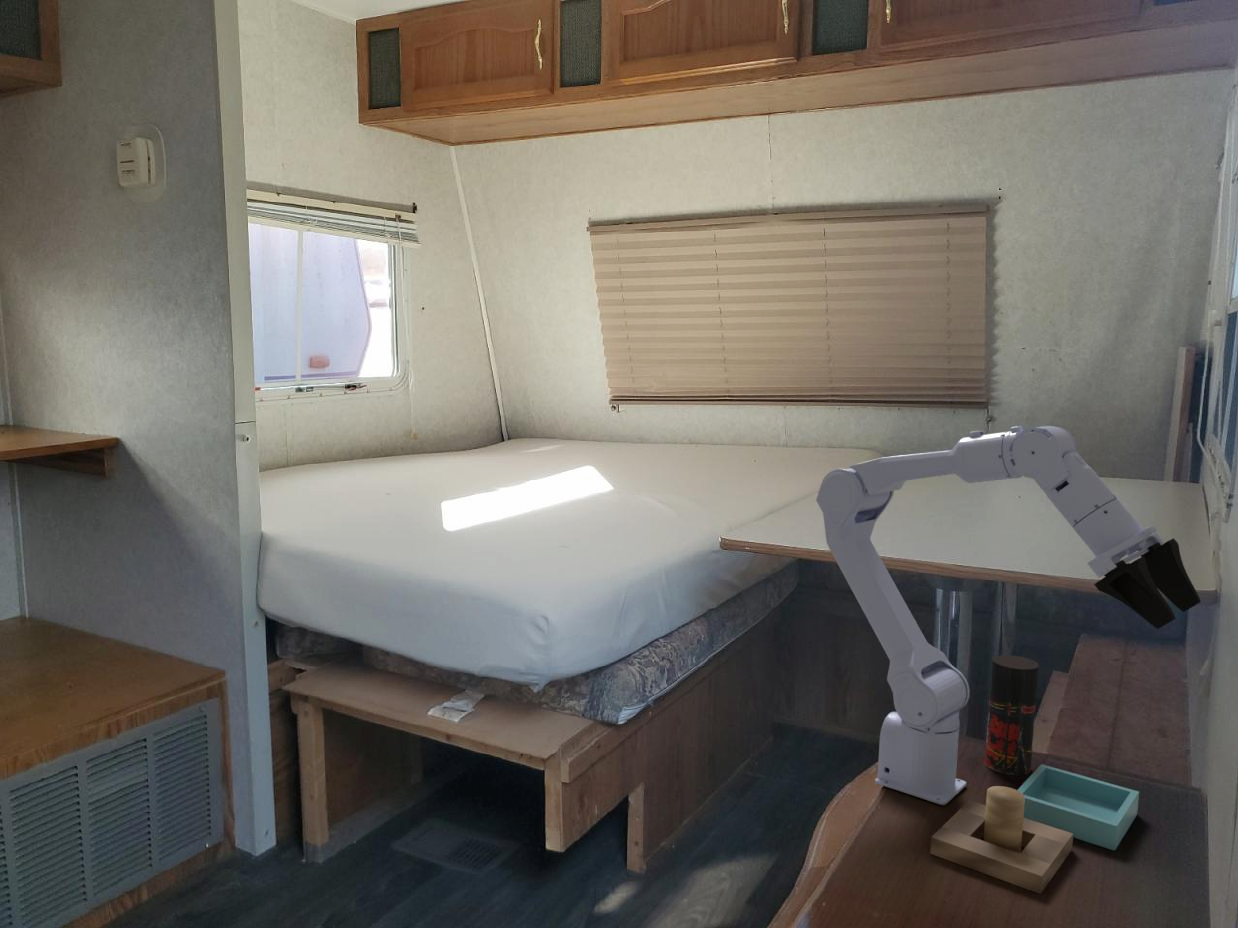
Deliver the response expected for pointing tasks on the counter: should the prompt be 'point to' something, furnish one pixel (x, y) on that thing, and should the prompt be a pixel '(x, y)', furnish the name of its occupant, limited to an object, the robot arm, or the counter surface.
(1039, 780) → the tray
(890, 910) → the counter surface
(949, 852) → the socket block
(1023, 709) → the deodorant
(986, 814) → the dowel
